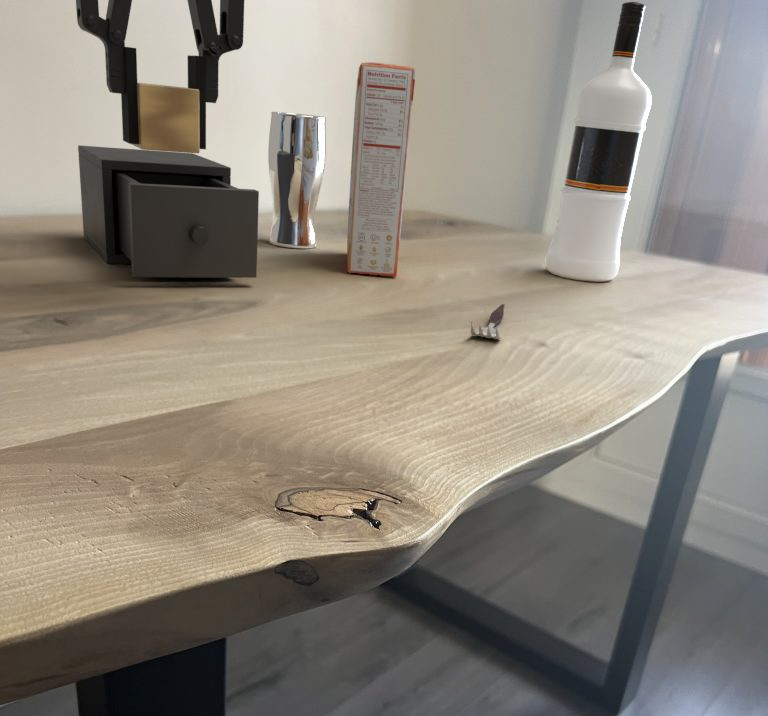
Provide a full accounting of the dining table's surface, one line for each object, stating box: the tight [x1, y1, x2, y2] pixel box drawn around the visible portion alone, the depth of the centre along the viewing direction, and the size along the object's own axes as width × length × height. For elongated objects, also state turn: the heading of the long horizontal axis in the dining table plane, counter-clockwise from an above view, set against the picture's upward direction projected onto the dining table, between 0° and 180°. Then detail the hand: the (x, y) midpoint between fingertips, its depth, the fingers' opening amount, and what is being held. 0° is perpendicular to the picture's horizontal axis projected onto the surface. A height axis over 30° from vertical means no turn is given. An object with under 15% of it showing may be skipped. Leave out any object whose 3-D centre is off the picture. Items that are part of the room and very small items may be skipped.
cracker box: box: [346, 61, 416, 278], centre depth 92 cm, size 14×6×21 cm, turn 2°
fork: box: [470, 303, 506, 340], centre depth 74 cm, size 3×16×2 cm, turn 166°
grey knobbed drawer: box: [112, 170, 260, 279], centre depth 80 cm, size 15×12×8 cm
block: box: [131, 82, 201, 154], centre depth 64 cm, size 4×4×4 cm
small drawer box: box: [77, 144, 232, 265], centre depth 89 cm, size 15×13×10 cm
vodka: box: [544, 1, 652, 283], centre depth 98 cm, size 9×9×30 cm
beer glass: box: [267, 111, 327, 250], centre depth 101 cm, size 7×7×15 cm
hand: (164, 144), depth 65 cm, fingers closed on block, 4 cm apart
